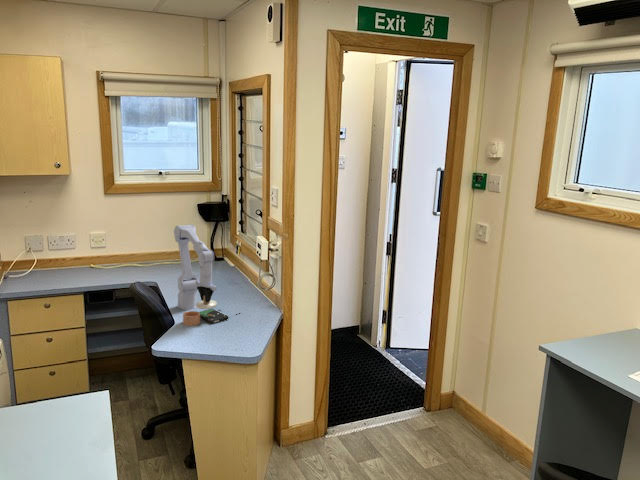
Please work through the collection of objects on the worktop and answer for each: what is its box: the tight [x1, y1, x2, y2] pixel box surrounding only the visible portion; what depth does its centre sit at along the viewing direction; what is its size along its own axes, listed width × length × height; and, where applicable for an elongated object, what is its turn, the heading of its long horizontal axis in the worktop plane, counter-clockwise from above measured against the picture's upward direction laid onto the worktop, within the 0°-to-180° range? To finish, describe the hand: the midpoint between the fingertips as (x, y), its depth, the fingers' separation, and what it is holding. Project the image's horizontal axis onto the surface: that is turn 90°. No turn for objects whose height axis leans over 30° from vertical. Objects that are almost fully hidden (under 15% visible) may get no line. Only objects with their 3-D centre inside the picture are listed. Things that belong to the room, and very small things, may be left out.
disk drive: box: [198, 308, 229, 325], centre depth 257 cm, size 10×3×15 cm
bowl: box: [182, 310, 201, 327], centre depth 250 cm, size 8×8×4 cm
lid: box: [196, 295, 218, 310], centre depth 254 cm, size 10×10×5 cm
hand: (205, 301), depth 254 cm, fingers closed on lid, 3 cm apart
